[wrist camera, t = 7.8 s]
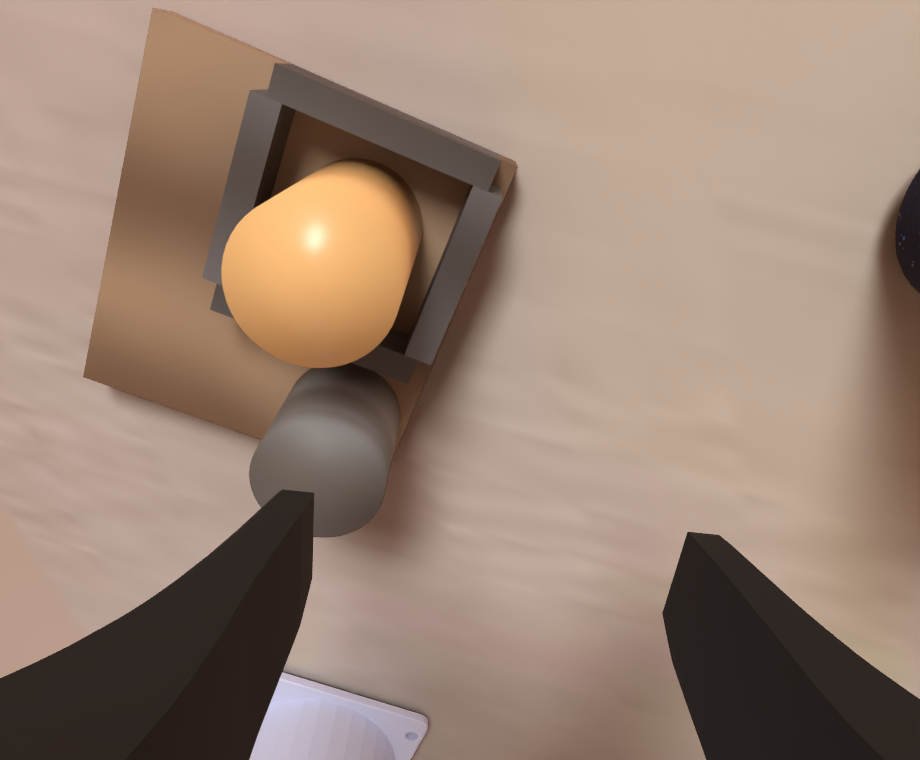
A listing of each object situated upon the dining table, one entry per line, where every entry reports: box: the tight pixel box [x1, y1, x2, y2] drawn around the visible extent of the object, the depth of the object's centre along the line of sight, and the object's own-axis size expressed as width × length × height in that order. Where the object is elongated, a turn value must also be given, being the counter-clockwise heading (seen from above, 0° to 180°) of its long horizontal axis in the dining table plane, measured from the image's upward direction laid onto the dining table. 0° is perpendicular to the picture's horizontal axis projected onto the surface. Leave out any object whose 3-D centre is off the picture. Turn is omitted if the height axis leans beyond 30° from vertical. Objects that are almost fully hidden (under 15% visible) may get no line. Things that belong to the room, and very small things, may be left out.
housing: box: [83, 8, 517, 537], centre depth 18 cm, size 11×10×5 cm
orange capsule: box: [222, 158, 423, 368], centre depth 16 cm, size 4×4×6 cm
